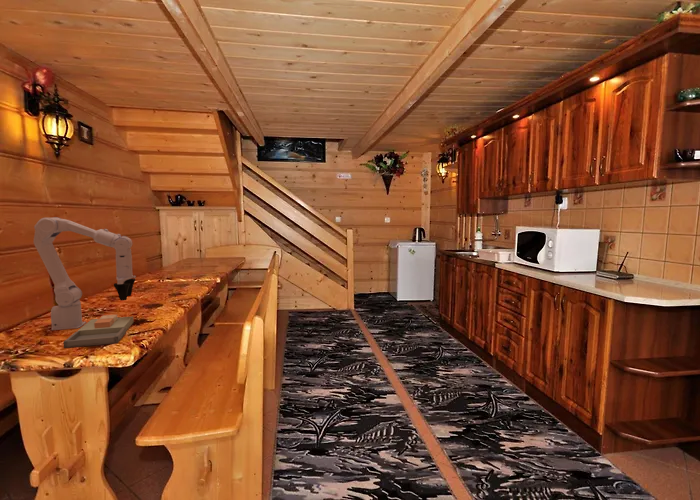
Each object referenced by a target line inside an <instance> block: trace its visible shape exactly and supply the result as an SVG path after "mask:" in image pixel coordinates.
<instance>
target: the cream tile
mask: <svg viewBox="0 0 700 500" xmlns="http://www.w3.org/2000/svg"><path fill="white" fill-rule="evenodd" d="M117 317H118V314H104V315H101V316H100V318H99V319H110V318H113V320H114V322H115V321H116V320H117V319H118V318H117Z"/></svg>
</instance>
